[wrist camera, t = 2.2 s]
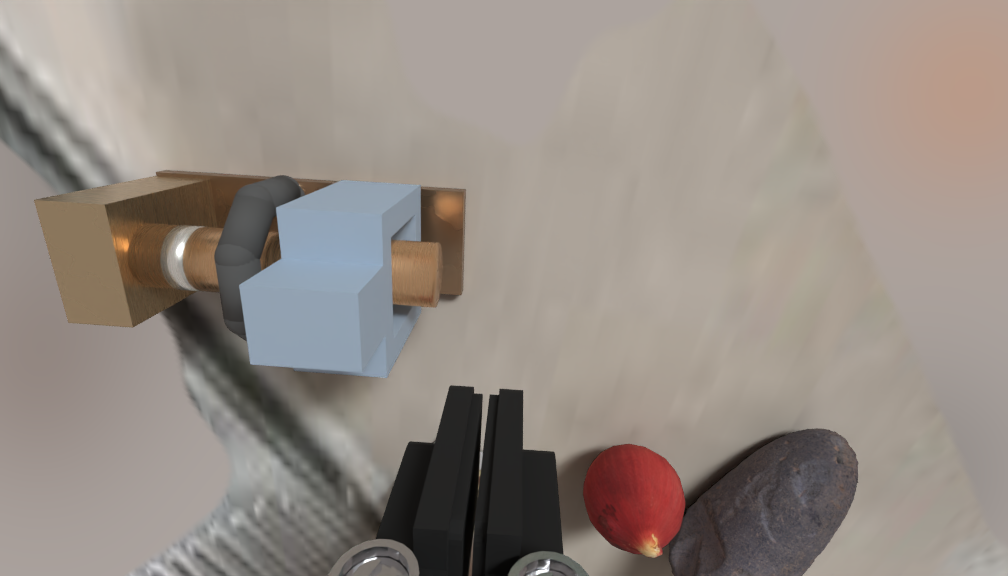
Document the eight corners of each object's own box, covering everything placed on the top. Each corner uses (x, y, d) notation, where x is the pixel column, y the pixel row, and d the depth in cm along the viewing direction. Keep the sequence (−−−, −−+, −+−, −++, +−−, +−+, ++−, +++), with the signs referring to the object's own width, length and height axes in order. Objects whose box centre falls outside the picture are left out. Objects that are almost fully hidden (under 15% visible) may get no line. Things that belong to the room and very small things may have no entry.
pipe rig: (465, 189, 27) (441, 222, 20) (462, 290, 30) (439, 353, 22) (165, 170, 28) (32, 195, 20) (184, 270, 30) (69, 326, 23)
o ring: (321, 169, 25) (236, 196, 18) (331, 309, 28) (262, 382, 21) (290, 167, 25) (194, 193, 18) (304, 307, 28) (224, 379, 21)
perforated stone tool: (789, 389, 31) (858, 466, 24) (849, 431, 32) (931, 516, 25) (634, 535, 36) (657, 631, 29) (690, 568, 37) (724, 668, 30)
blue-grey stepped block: (420, 185, 25) (355, 234, 16) (421, 312, 27) (364, 420, 18) (342, 180, 25) (230, 226, 16) (349, 307, 28) (257, 412, 18)
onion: (611, 501, 35) (633, 612, 27) (561, 448, 33) (569, 548, 26) (683, 461, 33) (727, 565, 26) (633, 402, 32) (665, 495, 24)
